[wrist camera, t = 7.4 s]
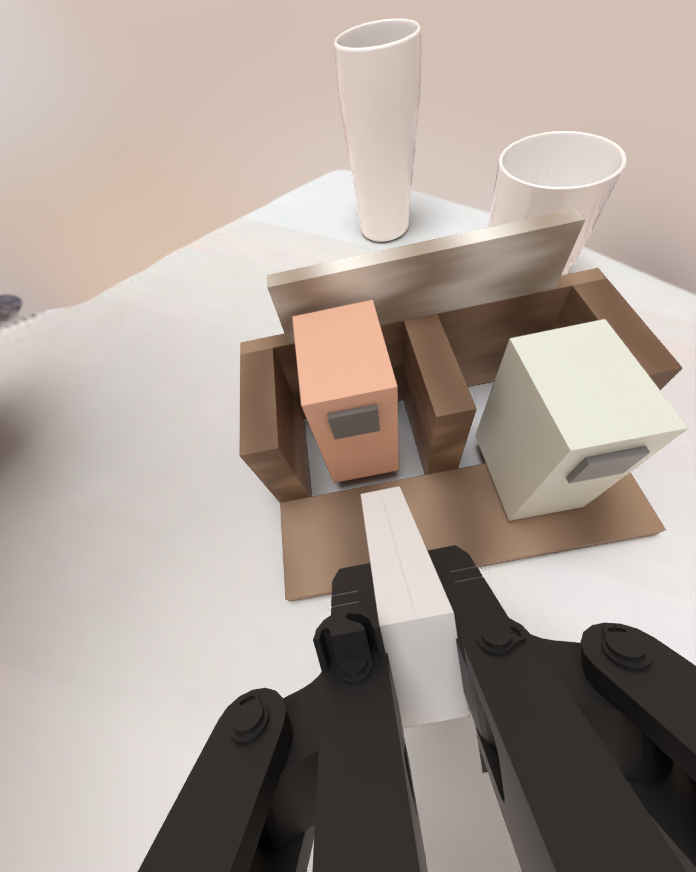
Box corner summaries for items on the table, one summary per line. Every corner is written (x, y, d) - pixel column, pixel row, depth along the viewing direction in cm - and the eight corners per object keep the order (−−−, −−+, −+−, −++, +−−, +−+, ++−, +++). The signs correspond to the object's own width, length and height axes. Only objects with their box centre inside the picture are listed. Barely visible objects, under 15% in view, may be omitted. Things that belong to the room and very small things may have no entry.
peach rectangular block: (334, 487, 24) (301, 411, 16) (323, 410, 27) (292, 316, 19) (399, 474, 24) (398, 391, 16) (381, 398, 27) (372, 299, 19)
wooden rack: (290, 601, 22) (189, 562, 11) (278, 414, 29) (211, 287, 19) (655, 534, 21) (899, 429, 11) (550, 359, 28) (636, 195, 18)
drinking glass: (342, 235, 40) (314, 44, 27) (382, 206, 42) (374, 15, 29) (387, 256, 37) (379, 53, 25) (428, 224, 39) (441, 20, 26)
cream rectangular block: (510, 526, 21) (574, 457, 13) (475, 435, 24) (509, 338, 17) (585, 512, 21) (694, 434, 13) (540, 422, 24) (605, 319, 16)
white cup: (562, 257, 34) (616, 126, 25) (570, 315, 30) (637, 185, 22) (475, 257, 36) (498, 134, 27) (473, 312, 32) (499, 190, 23)
